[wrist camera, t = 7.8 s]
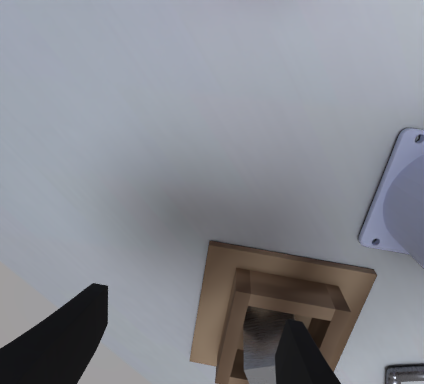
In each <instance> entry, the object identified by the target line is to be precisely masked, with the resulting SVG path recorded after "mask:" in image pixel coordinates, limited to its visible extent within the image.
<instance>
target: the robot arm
mask: <svg viewBox="0 0 424 384" xmlns="http://www.w3.org/2000/svg"><path fill="white" fill-rule="evenodd" d="M417 135H420V136H421V137H420V140H419V141H417V142H415V137H416V136H417ZM374 239H377V241H375V242H372V240H374ZM358 240H359V242H360V243H361V244H362V245H363V246H365V247H370V248H376V249H382V250H387V251H393V252H399V253H405V254H410V255H411V256H412V257H413V258H414V259H415V260H416V261H417V262H418V263H419V264H420V265H421V266H422V267H423V268H424V130H421V129H414V128H406V129H404V130H403V131H402V132H401V133H400V134H399V137H398V139H397V142H396V144H395V147H394V149H393V152H392V154H391V157H390V159H389V162H388V164H387V167H386V169H385V172H384V174H383V177H382V180H381V182H380V185H379V187H378V190H377V192H376V195H375V197H374V200H373V202H372V205H371V207H370V210H369V212H368V215H367V217H366V220H365V222H364V225H363V228H362V230H361V233H360V235H359V239H358ZM107 324H108V286H106V285H100V284H95V283H93V284H91V285H90V286H88V287H87V288H86V289H84V290H83V291H82V292H81V293H79V294H78V295H77V296H75V297H74V298H73V299H71V300H70V301H69V302H67V303H66V304H65V305H64V306H62V307H61V308H60V309H58V310H57V311H55V312H54V313H53V314H51V315H50V316H49V317H47V318H46V319H45V320H43V321H42V322H40V323H39V324H37V325H36V326H34V327H33V328H31V329H30V330H29V331H27V332H25V333H24V334H22V335H21V336H19V337H18V338H16V339H15V340H13V341H12V342H10V343H9V344H7V345H5V346H4V347H2V348H1V349H0V384H77V383H78V381H79V379H80V377H81V376H82V374H83V372H84V371H85V369H86V367H87V365H88V364H89V362H90V360H91V358H92V357H93V355H94V353H95V351H96V349H97V347H98V345H99V343H100V340H101V338H102V336H103V334H104V331H105V329H106V327H107ZM275 373H276V384H341V383H340V382H339V380H338V379H337V377H336V375H335V374H334V372H333V371H332V369H331V368H330V366H329V365H328V363H327V362H326V360H325V358H324V357H323V355H322V353H321V352H320V350H319V349H318V347H317V345H316V344H315V342H314V340H313V339H312V337H311V335H310V333H309V332H308V330H307V328H306V327H305V325H304V324H303V322H301V321H296V320H290V319H287V320H286V323H285V326H284V329H283V332H282V335H281V338H280V341H279V344H278V347H277V350H276V353H275Z"/></svg>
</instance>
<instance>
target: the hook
mask: <svg viewBox="0 0 424 384" xmlns="http://www.w3.org/2000/svg"><path fill="white" fill-rule="evenodd" d="M408 381H424V366H411V367H392V368H388V369H387V372H386V384H401V382H408Z"/></svg>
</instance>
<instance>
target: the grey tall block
mask: <svg viewBox="0 0 424 384" xmlns="http://www.w3.org/2000/svg"><path fill="white" fill-rule="evenodd" d="M287 319H290V320H296V319H295V316H294V314H290V313H285V312H279V311H274V310H268V309H263V308H257V307H252V306H248V308H247V312H246V316H245V320H244V324H243V348H244V372H245V374H246V377H247V379H248V382H249V384H276V373H275V353H276V350H277V347H278V344H279V341H280V338H281V335H282V332H283V329H284V326H285V323H286V320H287Z"/></svg>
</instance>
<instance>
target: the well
mask: <svg viewBox="0 0 424 384" xmlns="http://www.w3.org/2000/svg"><path fill="white" fill-rule="evenodd" d="M376 277H377V274H376V272H375V271H374V270H373V269H367V268H362V267H356V266H350V265H345V264H339V263H333V262H328V261H322V260H316V259H311V258H305V257H299V256H294V255H288V254H283V253H277V252H271V251H266V250H260V249H254V248H249V247H243V246H237V245H232V244H226V243H220V242H215V241H210V242H209V247H208V253H207V259H206V265H205V271H204V277H203V283H202V289H201V295H200V301H199V307H198V313H197V319H196V325H195V331H194V337H193V343H192V349H191V355H190V361H191V362H196V363H201V364H207V365H212V366H216V378H215V383H217V384H249V382H248V379H247V377H246V374H245V372H244V348H243V324H244V320H245V316H246V312H247V308H248V306H252V307H257V308H263V309H268V310H274V311H279V312H285V313H290V314H294V316H295V319H296V321H301V322H303V324H304V325H305V327H306V328H307V330H308V332H309V333H310V335H311V337H312V339H313V340H314V342H315V344H316V345H317V347H318V349H319V350H320V352H321V353H322V355H323V357H324V358H325V360H326V362H327V363H328V365H329V366H330V368H331V369H332V371H333V372H334V370H335V368H336V365H337V363H338V361H339V359H340V356H341V354H342V352H343V350H344V348H345V345H346V343H347V341H348V339H349V336H350V334H351V332H352V330H353V328H354V325H355V323H356V321H357V319H358V316H359V314H360V312H361V310H362V308H363V305H364V303H365V301H366V299H367V297H368V294H369V292H370V290H371V288H372V285H373V283H374V281H375V279H376Z"/></svg>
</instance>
